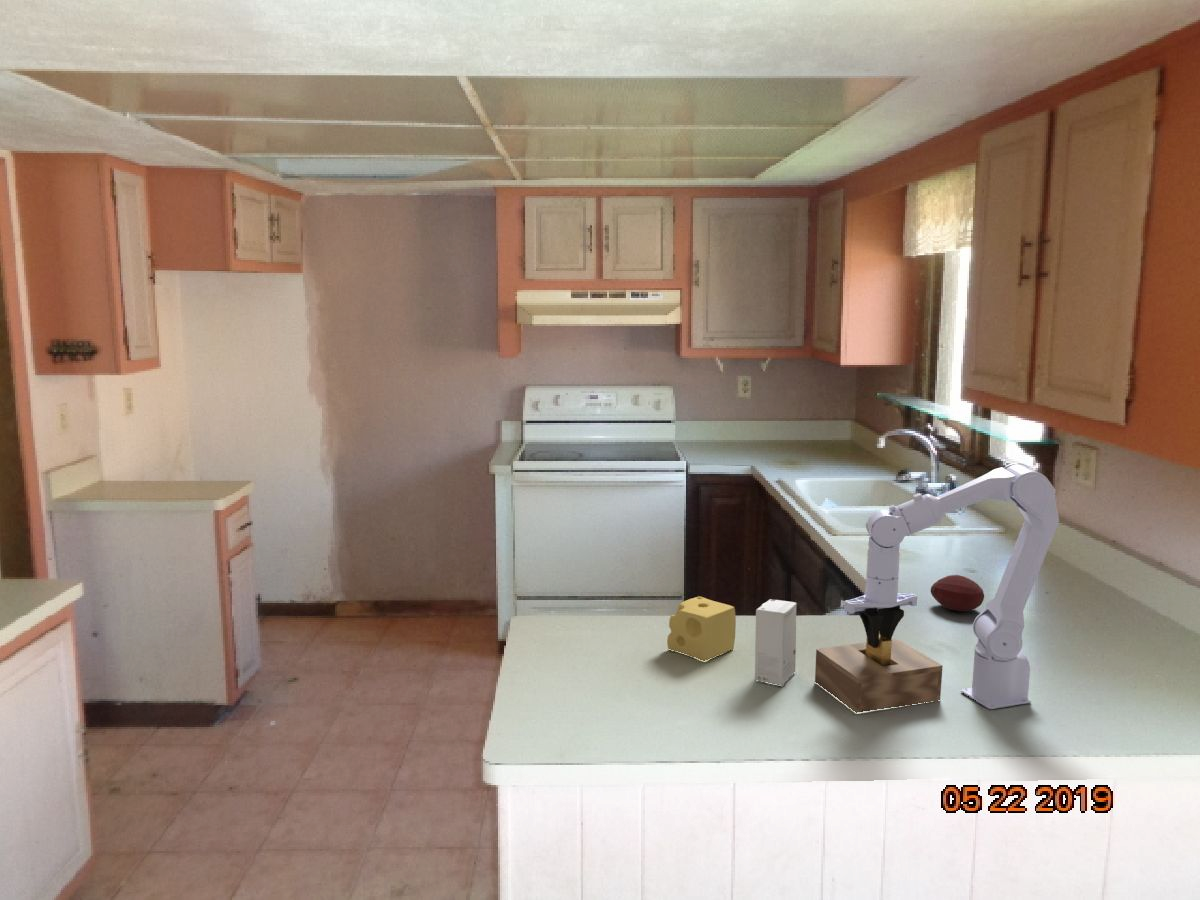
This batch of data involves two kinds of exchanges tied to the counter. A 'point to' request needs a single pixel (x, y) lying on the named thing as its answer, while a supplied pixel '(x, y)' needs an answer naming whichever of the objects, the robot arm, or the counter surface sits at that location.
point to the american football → (957, 593)
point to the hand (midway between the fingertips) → (878, 645)
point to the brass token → (880, 651)
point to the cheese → (702, 628)
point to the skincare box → (775, 641)
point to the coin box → (878, 677)
